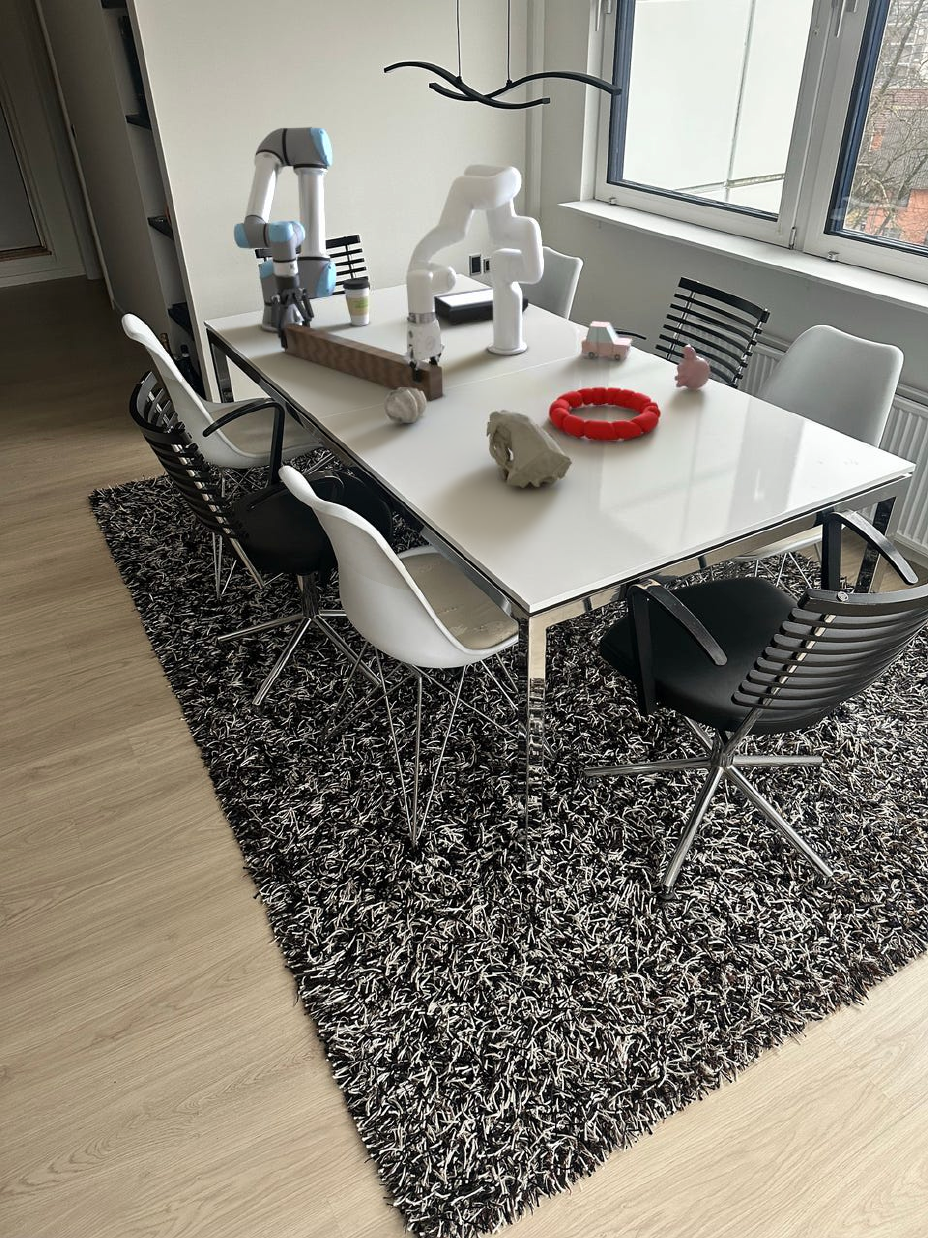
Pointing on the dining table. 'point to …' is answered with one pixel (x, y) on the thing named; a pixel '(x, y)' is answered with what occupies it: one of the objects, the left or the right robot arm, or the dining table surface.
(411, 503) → the dining table surface
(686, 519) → the dining table surface
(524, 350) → the right robot arm
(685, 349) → the figurine
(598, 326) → the toy car
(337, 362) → the post
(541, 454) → the animal skull
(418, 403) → the seashell
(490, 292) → the electronic device
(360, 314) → the coffee cup
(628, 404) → the decorative ring
